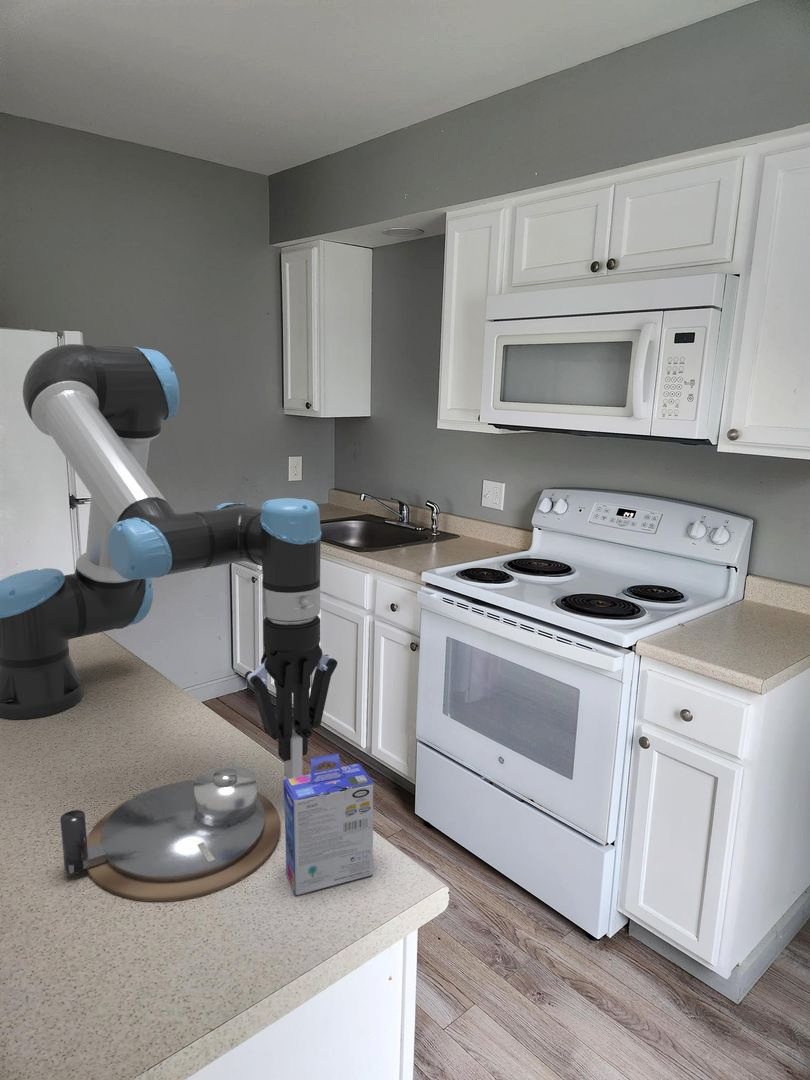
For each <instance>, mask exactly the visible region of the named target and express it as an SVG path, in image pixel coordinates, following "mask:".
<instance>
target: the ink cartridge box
mask: <svg viewBox="0 0 810 1080" xmlns="http://www.w3.org/2000/svg"><path fill="white" fill-rule="evenodd" d="M326 762H327V763H335V767H331V768H327V769H322V770H317V769H316V767H318V766H320V765H322V764H324V763H326ZM309 763H310V773H308V774H303V776H298V777H293V778H288V779H287V778H284V779H283V803H284V806H283V807H284V827H285V828H284V829H285V830H284V831H285V835H284V837H285V873H286V876H287V880H288V882H289V885H290V887H291V891H292V892H293V894H294V895H296V896H300V895H304V894H307V893H310V892H314V891H318V890H321V889H325V888H328V887H333V886H337V885H340V884H344V883H347V882H352V881H355V880H358V879H362V878H366V877H369V876H373V872H374V870H373V868H374V864H373V863H374V862H373V861H374V854H373V853H374V851H373V850H374V785H375V784H374V781H373V780H372V778H371V777H370V776H369V775H368V773H367V772H366V771H365V769H364V768H363V767H362V765H361V764H360V763H354V764H350V765H345V766H342V764H341V759H340V754H339V753H333V754H328V755H322V756H317V757H311V758H310V759H309Z"/></svg>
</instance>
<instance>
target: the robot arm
mask: <svg viewBox="0 0 810 1080" xmlns="http://www.w3.org/2000/svg"><path fill="white" fill-rule="evenodd" d="M22 398H23V403H24V404H23V405H24V407H25V410H26V413H27V414H28V416H29V418H30V420H31V421H32V423H33V424H34V426H35V427H36V428H37V429H38V430H39V432H41V433H42V434H45V435H47V436H49V437H52V439H53V441H54V442H55V444H56V445H57V446H58V448H59V450H60V451H61V452H62V454H63V456H64V457H65V458H66V460H67V461H68V463H69V464H70V466H71V467H72V469H73V470H74V472H75V473H76V475H77V477H79V480H80V481H81V482H82V484H83V486H85V488H86V490H87V491H88V493H89V494H90V504H89V515H88V517H89V518H88V529H87V539H86V551H85V552H84V553H83V554H81V555H80V556H79V557H77V559H76V563H75V572H74V573H72V574H66V575H65V574H64V573H63V572H62V571H61V570H60V569H57V568H50V567H49V568H47V567H46V568H41V569H37V568H35V569H30V570H25V571H21V572H18V573H15V574H12V575H9V576H7V577H4V578H3V579H1V580H0V718H3V719H8V720H9V719H10V720H25V719H26V720H27V719H35V718H36V719H37V718H41V717H46V716H50V715H54V714H57V713H60V712H63V711H65V710H68V709H70V708H71V707H74V706H75V705H76V704H78V703H79V702H80V701H81V700H82V698H83V696H84V693H83V692H84V691H83V690H84V689H83V682H82V679H81V677H80V676H79V675H80V674H79V672H78V671H77V669H76V667H75V665H74V662H73V661H72V658H71V655H70V647H69V646H70V645H69V644H70V643H69V641H70V640H71V639H72V640H73V639H77V638H81V637H85V636H90V635H94V634H99V633H103V632H108V631H112V630H120V629H121V630H122V629H125V628H127V627H129V626H131V625H132V626H133V625H136V624H139V623H140V622H142V621H143V620H144V619H146V617H147V615H148V614H149V612H150V611H151V608H152V606H153V602H154V601H153V599H154V589H153V588H152V584H153V580H152V579H156V578H157V579H158V578H161V577H165V576H169V575H174V574H178V573H179V574H180V573H184V572H188V571H194V570H199V569H206V568H213V567H218V566H224V565H229V564H234V563H240V562H247V563H249V564H254V565H257V566H259V567H261V570H262V571H261V572H262V574H261V575H262V614H263V616H265V618H264V619H263V620H262V621H263V623H262V628H263V630H262V632H263V633H262V634H263V635H262V636H263V649H264V651H263V654H262V656H261V659H260V665H259V666H258V667H256V669H254V671H251V670H249V671H246V672H245V674H244V678H245V680H246V681H247V683H248V684H249V685H250V686H251V688H252V690H253V695H254V698H255V702H256V706H257V708H258V713H259V715H260V718H261V719H260V720H261V722H262V727H263V730H264V732H265V734H267V736H269V737H270V738H271V739H272V740H274V741H275V740H277V750H278V751H277V752H278V757H279V758H280V759H281V760H282V761H283V773H284V774H283V775H284V777H285V779H288V778H293V777H298V776H303V775H304V774H303V770H304V769H303V768H304V767H303V757H304V756H306V755H307V754H308V750H309V749H308V746H309V745H308V744H309V742H308V740H309V739H308V738H310V737H311V736H312V735H313V733H312V732H311V731H312V730H313V729H318V728H320V726H321V723H322V721H323V720H322V719H323V715H324V711H325V706H326V702H327V697H328V693H329V692H328V691H329V687H330V682H331V679H332V678H331V677H332V675H333V673H334V671H335V669H336V668H337V666H338V660H336V659H335V658H333V657H332V656H330V655H328V654H323V650H322V648H321V645H320V643H321V618H320V617H319V614H320V613H321V547H322V546H321V539H322V538H321V537H322V532H323V531H322V530H321V529H322V528H321V519H320V516H321V515H320V508H319V506H318V504H317V503H316V502H314V501H313V500H309V499H304V498H295V497H291V498H290V497H285V498H283V497H282V498H274V499H273V498H272V499H269V500H267V501H264V503H262V506H261V508H260V507H255V506H253V505H251V504H246V503H243V502H237V503H235V502H224V503H220V504H218V505H217V506H215V507H214V508H213V509H211V510H201V511H192V512H183V513H177V512H176V511H175V510H174V509H173V507H172V506H171V505H170V504H169V502H168V501H167V500H166V498H165V497H164V495H163V494H162V493H161V492H160V490H159V489H158V487H157V486H156V485H155V483H154V482H153V481H152V479H151V478H150V476H149V475H148V474H147V468H148V460H149V453H150V444H151V443H150V442H151V441H153V440H154V439H156V438H158V437H159V436H160V435H161V429H162V422H163V420H164V421H168V420H170V419H172V418H173V417H175V415H176V413H177V412H178V411H179V406H180V387H179V382H178V377H177V374H176V372H175V370H174V367H173V365H172V364H171V362H170V361H169V359H168V358H167V357H166V355H164V353H162V352H160V351H158V350H156V349H150V348H141V347H139V346H115V345H113V346H112V345H111V346H110V345H109V346H108V345H92V344H91V345H89V344H88V345H87V344H85V345H84V344H78V343H69V344H68V343H67V344H61V345H58V346H55V347H52V348H51V349H48V350H46V351H45V352H43V353H42V354H40V355H39V356H38V357H37V358H36V359H35V360H34V361H33V363H32V364H31V366H30V367H29V368H28V370H27V372H26V374H25V376H24V380H23V384H22ZM313 673H314V674H313ZM267 674H268V675H269V676H270V677H271V678H272V679H273V681H274V682H273V683H274V687H275V709H276V711H275V710H274V707H273V703H272V698H271V696H270V694H271V693H270V692H269V689H268V687H267V684H268V677H267ZM312 675H313V677H312ZM312 678H313V679H312ZM311 683H312V684H311Z"/></svg>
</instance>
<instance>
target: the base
mask: <svg viewBox="0 0 810 1080" xmlns="http://www.w3.org/2000/svg"><path fill="white" fill-rule="evenodd" d="M257 798H258V799H259V800H260V801H261V803H262V805H263V807H264V812H265V828H264V832H263V835H262V837H261V839H260V841H259V842H258V843H257V845H256V846H255V847H254V848H253V849H252V850H251V851H250V852H249V853H248V854H247V855H246V856H244V857H243V858H242V859H240V860H239V861H237V862H236V863H234V864H232V865H230V866H228V867H227V868H225V869H222V870H220V871H218V872H215V873H212V874H209V875H206V876H203V877H199V878H195V879H191V880H184V881H177V882H150V881H142V880H137V879H133V878H130V877H127V876H125V875H123V874H121V873H119V872H117V871H116V870H114V869H113V868H111V867H110V866H109V864H108V863H107V862H104V863H101V864H98V865H95V866H92V867H89V868H86V869H85V871H86V872H87V875H88V876H89V878H90V879H91V880H92V881H93V882H94V883H95V885H97V886H98V887H99V888H101V889H102V890H104V891H106V892H108V893H110V894H112V895H114V896H118V897H120V898H124V899H128V900H132V901H137V902H139V901H140V902H148V903H167V902H179V901H186V900H190V899H195V898H200V897H204V896H208V895H210V894H214V893H216V892H220V891H222V890H224V889H226V888H229V887H230V886H233V885H235V884H237V883H239V882H241V881H242V880H245V879H246V878H248V877H249V876H250V875H252V874H254V873H255V872H256V871H257V870H258V869H260V867H262V866H263V865H264V864H265V863H266V862H267V860H269V858H271V856H272V855H273V853H274V852H275V850H276V849H277V847H278V844H279V841H280V837H281V818H280V814H279V812H278V810H277V808H276V806H275V805H274V804H273V803H272V802H271V801H270V800H269V799H268V798H267V797H265V796H264V795H263V794H261V793H259V792H258V791H257ZM129 800H130V799H128V800H126V801H124V802H123V803H120V804H119V805H117V806H115V807H114V808H113V809H112V810H110V811H109V812H108V813H107V814H105V815H104V816H103V817H102V818H101V819H99V820H98V822H96V824H95V825H94V826H93V828H91V830H90V832H89V833H88V834H87V848H89V847H92V846H95V845H98V844H101V832H102V829H103V826H104V824H105V822H106V821H107V819H108V818H109V817H110V816H111V814H112V813H113V812H114V811H115V810H117V809H118V808H119V807H120V806H121V805H123V804H124V803H126V802H127V801H129Z"/></svg>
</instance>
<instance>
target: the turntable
mask: <svg viewBox="0 0 810 1080" xmlns="http://www.w3.org/2000/svg"><path fill="white" fill-rule="evenodd" d="M194 782H195V780H187V781H180V782H173V783H169V784H164V785H162V786H161V785H160V786H157V787H156V788H155V787H154V788H152V789H149V790H146V791H144V792H142V793H140V794H138V795H136V796H133V797H132V798H130V799H128V800H129V801H128V800H126V801H127V802H126V801H125V802H126V803H124V802H123V803H124V804H123V803H122V804H123V805H121V804H120V805H121V806H120V807H119V808H118V809H117V810H115V811H114V812H113V813H112V814H111V816H110V817H109V818H108V819H107V821H106V822H105V824H104V826H103V829H102V832H101V844H98V845H95V846H92V847H89V848H87V837H88V834H87V825H86V823H87V822H86V814H85V812H84V811H83V810H80V809H73V810H71V811H67V812H65V813H62V815H61V816H60V831H61V841H62V852H63V853H62V854H63V865H64V866H63V867H64V871H65V872H66V873H69V874H76V873H80V872H83V871H84V870H86V868H89V867H92V866H95V865H98V864H101V863H104V862H107V863H108V864H109V866H110V867H111V868H113V869H114V870H116V871H117V872H119V873H121V874H123V875H125V876H127V877H130V878H133V879H137V880H142V881H150V882H177V881H184V880H191V879H195V878H199V877H203V876H206V875H209V874H212V873H215V872H218V871H220V870H222V869H225V868H227V867H228V866H230V865H232V864H234V863H236V862H237V861H239V860H240V859H242V858H243V857H244V856H246V855H247V854H248V853H249V852H250V851H251V850H252V849H253V848H254V847H255V846H256V845H257V843H258V842H259V841H260V839H261V837H262V835H263V832H264V828H265V812H264V807H263V805H262V803H261V801H260V800H259V799H258V798H257V810H256V812H255V813H254V814H253V815H252V816H251V817H250V818H249V819H247V820H245V821H243V822H241V823H238V824H235V825H231V826H210V825H206V824H204V823H202V822H200V821H199V820H198V819H197V818H196V816H195V801H194Z"/></svg>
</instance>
